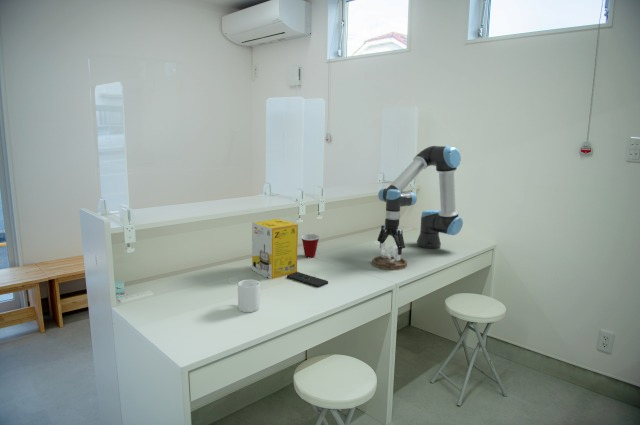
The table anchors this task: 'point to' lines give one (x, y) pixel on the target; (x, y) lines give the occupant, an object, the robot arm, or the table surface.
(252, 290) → the mug
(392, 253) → the white piece
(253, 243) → the packaging box
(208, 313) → the table surface
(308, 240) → the plastic cup
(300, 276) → the smart home device
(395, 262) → the coaster
